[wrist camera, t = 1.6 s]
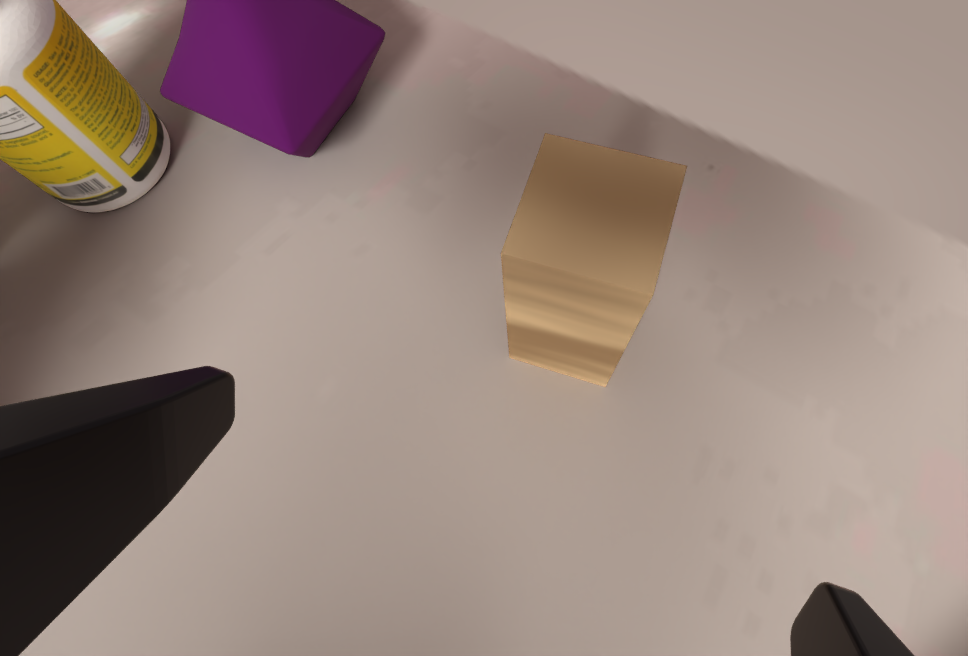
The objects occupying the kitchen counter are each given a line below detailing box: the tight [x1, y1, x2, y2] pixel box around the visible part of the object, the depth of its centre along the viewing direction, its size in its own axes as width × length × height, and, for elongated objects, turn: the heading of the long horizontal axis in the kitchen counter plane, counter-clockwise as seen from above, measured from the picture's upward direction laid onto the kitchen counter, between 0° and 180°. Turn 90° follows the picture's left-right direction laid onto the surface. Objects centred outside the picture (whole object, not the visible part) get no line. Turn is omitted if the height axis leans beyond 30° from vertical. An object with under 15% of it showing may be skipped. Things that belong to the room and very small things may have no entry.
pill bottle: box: [0, 0, 170, 212], centre depth 23 cm, size 6×6×11 cm
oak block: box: [501, 133, 687, 387], centre depth 19 cm, size 4×4×9 cm
